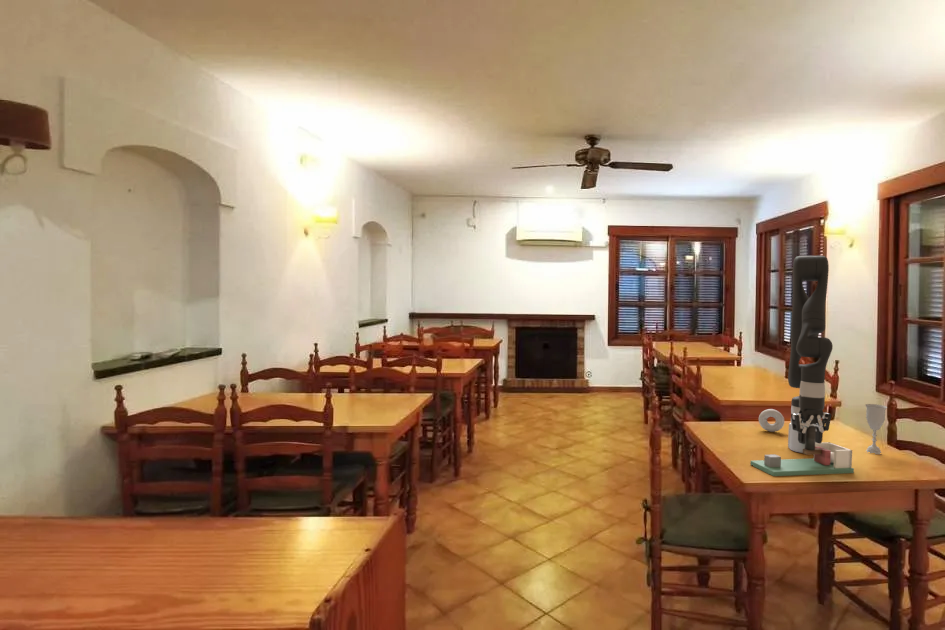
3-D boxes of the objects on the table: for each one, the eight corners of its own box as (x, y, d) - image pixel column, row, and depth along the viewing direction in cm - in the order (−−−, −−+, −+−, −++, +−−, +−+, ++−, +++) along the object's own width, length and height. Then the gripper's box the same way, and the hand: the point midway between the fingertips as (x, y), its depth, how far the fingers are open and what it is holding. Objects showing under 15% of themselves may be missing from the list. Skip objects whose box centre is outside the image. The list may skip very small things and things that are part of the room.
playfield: (750, 464, 199) (750, 451, 199) (826, 462, 203) (827, 448, 203) (773, 476, 187) (773, 461, 187) (853, 472, 192) (854, 458, 191)
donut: (757, 430, 247) (758, 408, 247) (758, 429, 250) (759, 406, 250) (783, 434, 242) (784, 411, 242) (784, 432, 245) (785, 409, 245)
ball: (829, 463, 199) (820, 458, 198) (834, 453, 199) (825, 448, 198) (838, 467, 195) (829, 462, 194) (843, 456, 195) (834, 451, 195)
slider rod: (798, 461, 198) (800, 424, 197) (819, 460, 199) (820, 424, 198) (809, 465, 193) (810, 428, 192) (830, 465, 194) (831, 427, 193)
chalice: (888, 455, 212) (891, 408, 211) (868, 454, 214) (870, 407, 213) (878, 450, 219) (881, 404, 218) (859, 449, 221) (861, 403, 220)
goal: (813, 459, 201) (814, 442, 201) (828, 458, 202) (829, 442, 202) (835, 468, 192) (836, 450, 191) (851, 467, 192) (852, 450, 192)
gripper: (822, 392, 199) (820, 439, 200) (785, 393, 197) (783, 440, 198) (839, 396, 192) (837, 445, 193) (801, 397, 190) (799, 446, 190)
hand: (809, 442), depth 195 cm, fingers open, 5 cm apart
